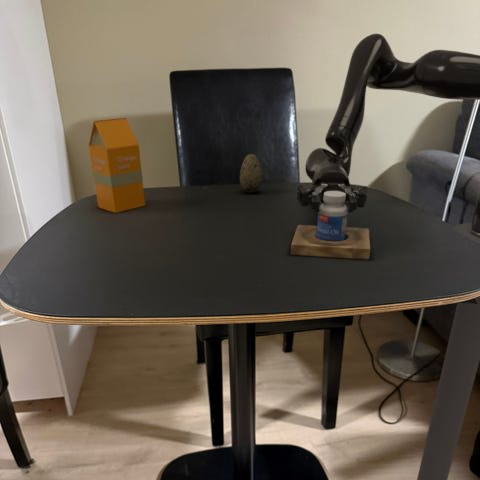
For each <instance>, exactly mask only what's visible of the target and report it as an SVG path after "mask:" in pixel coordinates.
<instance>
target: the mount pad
mask: <svg viewBox="0 0 480 480" xmlns="http://www.w3.org/2000/svg"><path fill="white" fill-rule="evenodd" d="M316 234H317V225H310V224H297V227H296V229H295V232H294V235H293V238H292V241H291V244H290V255H291V256H305V257H306V256H308V257H322V258H323V257H324V258H335V259H336V258H337V259H338V258H339V259H355V260H356V259H357V260H370V257H371V239H370V228H368V227H350V226H349V227H348V226H346V232H345V240H343V241H337V242H332V241H323V240H320V239H317V238H316Z"/></svg>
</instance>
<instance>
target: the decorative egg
mask: <svg viewBox="0 0 480 480" xmlns="http://www.w3.org/2000/svg"><path fill="white" fill-rule="evenodd" d="M262 182H263V172H262V168H261V164H260V161H259V159H258V158H257V156H256V155H255V154H253V153H249V154H247V155H246V157H244V159H243V162H242V164H241V167H240V172H239V183H240V187H241V188H242V189H243V190H244V191H245V192H246V193H249V194H250V193H251V194H253V193H255V192H257V191H259V189H260V187H261V186H262Z"/></svg>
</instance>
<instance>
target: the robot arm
mask: <svg viewBox="0 0 480 480" xmlns="http://www.w3.org/2000/svg"><path fill="white" fill-rule="evenodd" d="M367 88H369V89H371V90H372V89H373V90H383V91H385V90H386V91H401V92H409V93H413V94H421V95H425V96H430V97H434V98H438V99H445V100H459V101H461V100H462V101H476V100H477V101H478V100H479V101H480V55H479V54H475V53H469V52H463V51H457V50H447V49H434V50H431V51H428V52H426V53H424V54H423V55H421V56H420V57H419V58H418V59H416V60H414V62H409V61H402V60H399V59H398V58H397V57H396V55H395V54H394V52H393V50H392V47H391V46H390V44H389V42H388V40H387V38H386V37H385V36H384V35H382V34H381V33H372V34H369V35H367V36H365V37H364V38H363V39H361V40H360V41H359V42H358V43H357V45H356V46H355V47H354V50H353V52H352V54H351V57H350V60H349V65H348V68H347V73H346V77H345V80H344V85H343V89H342V93H341V97H340V101H339V104H338V107H337V110H336V112H335V114H334V115H333V118H332V120H331V123H330V126H329V127H328V129H327V132H326V134H325V139H324V142H325V144H326V146H327V147H328V148H329V149H330V150H331V151H330V150H328V149H327V148H324V147H317V148H315V149H313V150H312V151H311V152H310V153H309V155H308V156H307V159H306V161H305V174H306V176H307V177H308V178H309V179H310V180H311V183H312V185H311V186H310V189H309V188H308V187H306V186H304V185H302V184H300V185H297V190H296V191H297V193H296V199H297V201H298V203H299V204H300V205H301V207H307V206H309V205H310V207H311V210H314V213H318V212H319V208H320V205H321V204H323V203H324V201H323V197H324V193H325V192H327V191H340V192H344V193H345V194H346V200H345V202H344V205H346V206H347V208H348V214H353V213H354V211H356V210H357V208H359V209H360V208H364V207H365V205H366V203H367V198H368V191H369V190H368V189H369V187H367V186H366V185H365V186H362V187H359V188H358V190H357V189H355V187H353V186H351V182H350V178H349V177H350V173H351V167H352V156H353V149H354V145H355V143H356V141H357V138H358V135H359V133H360V131H361V128H362V125H363V123H364V116H365V109H366V107H365V106H366V95H367ZM471 223H472V225H471V227H470V233H471V234H473V235H475V236H477V237H480V189H478V194H477V199H476V204H475V207H474V211H473V214H472V220H471Z"/></svg>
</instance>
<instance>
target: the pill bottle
mask: <svg viewBox="0 0 480 480" xmlns="http://www.w3.org/2000/svg"><path fill="white" fill-rule="evenodd" d="M345 200H346V194H345V193H344V192H340V191H327V192H325V193H324V197H323V201H324V203H323V204H321V205H320V208H319V212H317V223H316V226H317V234H316V238H317V239H320V240H323V241H332V242H337V241H343V240H345V232H346V227H347V224H348V216H349V215H348V214H349V212H348V208H347V206H346V205H344V202H345Z"/></svg>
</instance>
